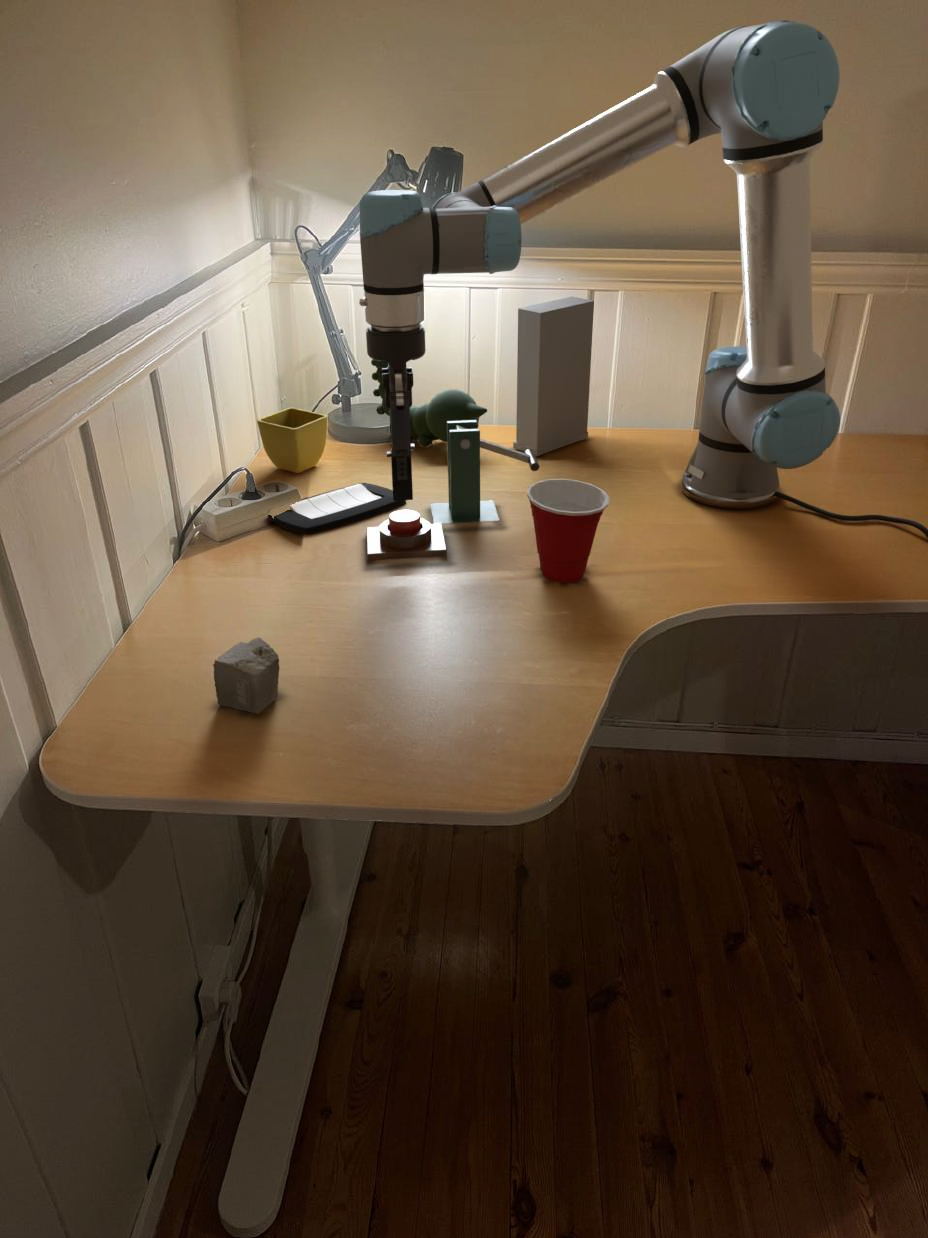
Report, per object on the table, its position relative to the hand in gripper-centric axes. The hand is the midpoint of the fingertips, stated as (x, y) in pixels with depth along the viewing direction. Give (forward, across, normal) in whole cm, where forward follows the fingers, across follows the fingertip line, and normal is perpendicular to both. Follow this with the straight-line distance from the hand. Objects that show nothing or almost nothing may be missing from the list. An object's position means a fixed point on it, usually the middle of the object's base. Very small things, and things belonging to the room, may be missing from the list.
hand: (402, 498), depth 131 cm
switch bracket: (+8, -10, +10) cm, 16 cm away
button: (+5, 0, 0) cm, 5 cm away
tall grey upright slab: (+8, -42, +29) cm, 52 cm away
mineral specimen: (+9, +36, -18) cm, 41 cm away
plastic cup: (+8, +10, +21) cm, 25 cm away
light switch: (+9, -15, -10) cm, 20 cm away
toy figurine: (+9, -45, +7) cm, 46 cm away
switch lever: (-2, -11, +14) cm, 18 cm away
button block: (+8, 0, 0) cm, 8 cm away
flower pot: (+9, -36, -17) cm, 41 cm away
